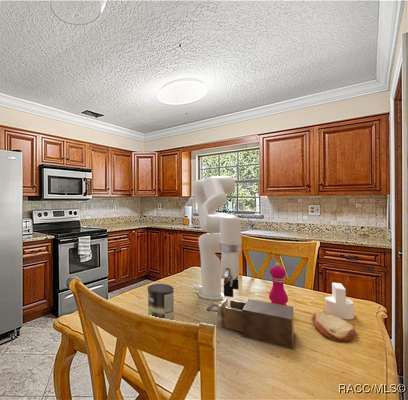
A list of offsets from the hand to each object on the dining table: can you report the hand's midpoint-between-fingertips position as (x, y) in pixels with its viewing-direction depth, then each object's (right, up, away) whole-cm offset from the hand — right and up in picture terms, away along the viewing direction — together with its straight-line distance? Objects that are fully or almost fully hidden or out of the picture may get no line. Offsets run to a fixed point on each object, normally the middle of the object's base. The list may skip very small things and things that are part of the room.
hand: (231, 292), depth 105 cm
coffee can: (-26, -14, +4) cm, 30 cm away
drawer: (+1, -12, -1) cm, 12 cm away
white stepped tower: (+48, -12, +8) cm, 50 cm away
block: (0, -11, 0) cm, 11 cm away
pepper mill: (+28, -13, +16) cm, 35 cm away
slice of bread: (+35, -12, -4) cm, 37 cm away
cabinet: (+10, -13, -8) cm, 18 cm away
